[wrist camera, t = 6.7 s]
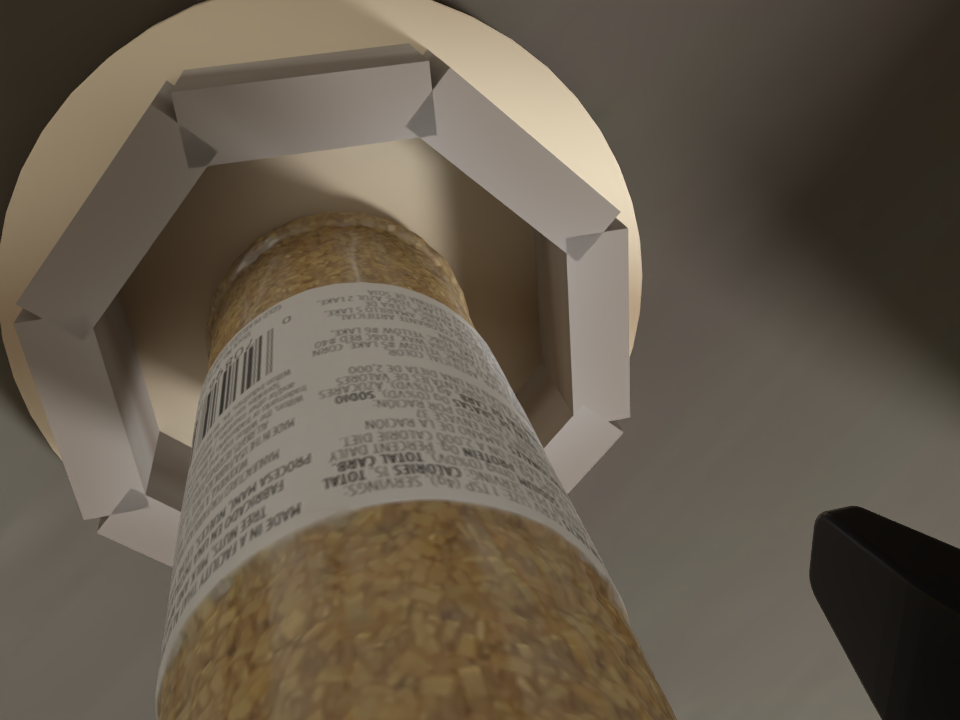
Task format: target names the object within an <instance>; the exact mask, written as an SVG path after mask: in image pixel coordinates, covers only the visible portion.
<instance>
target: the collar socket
mask: <svg viewBox="0 0 960 720" xmlns="http://www.w3.org/2000/svg"><path fill="white" fill-rule="evenodd" d="M352 211H357V212H361V213H364V214H368V215H372V216H376V217H380V218H384V219H387V220H391V221H394V222H396V223H397V224H399V225H401V226H403V227H404V228H406V229H408V230H410V231H412V232H413V233H415V234H417V235H418V236H420V237H422V238H423V239H424V240H425V241H426V243H427V244H428V245H429V246H430V247H432V248H433V249H434V250H436V251H437V252H438V253H439V254H441V255H442V256H443V257H444V258H445V259H446V261H447V262H448V264H449V266H450V267H451V269H452V271H453V274H454V276H455V278H456V280H457V282H458V284H459V286H460V288H461V289H462V291H463V293H464V297H465V300H466V303H467V307H468V311H469V316H470V319H471V321H472V323H473V325H474V327H475V329H476V331H477V332H478V334H479V335H480V336H481V337H482V338H483V340H484V341H485V342H486V343H487V345H488V347H489V348H490V350H491V352H492V353H493V355H494V357H495V358H496V360H497V362H498V364H499V366H500V368H501V369H502V371H503V373H504V375H505V377H506V379H507V381H508V382H509V384H510V386H511V388H512V390H513V392H514V394H515V396H516V398H517V400H518V401H519V403H520V405H521V406H522V408H523V410H524V412H525V414H526V416H527V418H528V420H529V421H530V423H531V425H532V427H533V429H534V431H535V433H536V435H537V437H538V439H539V441H540V443H541V445H542V447H543V449H544V451H545V453H546V454H547V456H548V458H549V460H550V462H551V464H552V466H553V468H554V470H555V472H556V474H557V476H558V478H559V480H560V482H561V484H562V486H563V488H564V490H565V491H566V493H567V494H568V493H569V492H570V491H571V490H572V489H573V488H574V486H575V485H576V484H577V483H578V482H579V481H580V480H581V479H582V478H583V477H584V476H585V474H586V473H587V472H588V471H589V470H590V469H591V468H592V467H593V466H594V465H595V463H596V462H597V461H598V460H599V459H600V458H601V457H602V456H603V455H604V454H605V452H606V451H607V450H608V449H609V448H610V447H611V446H612V445H613V444H614V443H615V442H616V440H617V439H618V438H619V437H620V436H621V435H622V434H623V433H624V432H623V431H622V429H621V428H620V426H619V425H618V423H617V422H616V421H615V420H619V419H624V418H629V417H630V361H629V357H630V354H631V351H632V348H633V344H634V339H635V334H636V329H637V324H638V319H639V314H640V303H641V287H642V265H641V250H640V238H639V233H638V228H637V224H636V219H635V214H634V209H633V204H632V201H631V198H630V195H629V192H628V190H627V187H626V184H625V181H624V178H623V176H622V173H621V170H620V167H619V165H618V163H617V161H616V159H615V157H614V155H613V153H612V152H611V150H610V148H609V146H608V144H607V142H606V140H605V138H604V136H603V134H602V133H601V131H600V129H599V128H598V127H597V125H596V124H595V122H594V121H593V120H592V118H591V117H590V115H589V114H588V113H587V111H586V110H585V109H584V107H583V106H582V104H581V103H580V102H579V100H578V99H577V98H576V96H575V95H574V94H573V93H572V92H571V91H570V90H569V89H568V88H567V87H566V86H565V85H564V84H563V83H562V82H561V81H560V80H559V79H558V78H557V77H556V76H555V75H554V74H553V73H552V72H551V71H550V69H549V68H548V67H546V66H545V65H544V64H543V63H541V62H540V61H539V60H538V59H536V58H535V57H534V56H532V55H531V54H530V53H529V52H527V51H526V50H525V49H523V48H522V47H521V46H520V45H518V44H517V43H516V42H514V41H513V40H512V39H510V38H508V37H506V36H505V35H503V34H501V33H499V32H498V31H496V30H494V29H493V28H491V27H489V26H487V25H486V24H484V23H482V22H480V21H479V20H477V19H475V18H473V17H471V16H469V15H467V14H465V13H463V12H460V11H458V10H455V9H453V8H450V7H448V6H446V5H443V4H441V3H438V2H436V1H433V0H207V1H204V2H201V3H198V4H195V5H193V6H191V7H189V8H187V9H185V10H183V11H181V12H179V13H177V14H175V15H173V16H171V17H169V18H167V19H165V20H163V21H161V22H159V23H157V24H155V25H153V26H152V27H150V28H149V29H147V30H146V31H145V32H143V33H142V34H140V35H139V36H138V37H136V38H135V39H133V40H132V41H130V42H129V43H128V44H126V45H125V46H123V47H122V48H120V49H119V50H118V51H116V52H115V53H114V54H113V55H111V56H110V57H109V58H108V59H107V60H105V61H104V62H103V63H102V64H101V65H100V66H99V67H98V68H97V69H96V70H95V71H94V72H93V73H92V74H91V75H90V76H89V77H88V78H87V79H86V80H85V81H83V82H82V83H81V84H80V85H79V86H78V87H77V88H76V89H75V90H74V91H73V92H72V93H71V94H70V96H69V97H68V98H67V99H66V101H65V102H64V103H63V105H62V106H61V107H60V109H59V110H58V111H57V112H56V114H55V115H54V116H53V118H52V119H51V120H50V122H49V123H48V124H47V126H46V127H45V128H44V129H43V131H42V133H41V135H40V136H39V138H38V140H37V142H36V144H35V146H34V148H33V149H32V151H31V153H30V155H29V157H28V159H27V160H26V162H25V164H24V166H23V168H22V170H21V172H20V175H19V178H18V180H17V183H16V186H15V189H14V192H13V195H12V197H11V200H10V203H9V206H8V209H7V211H6V216H5V221H4V227H3V232H2V238H1V243H0V324H1V331H2V339H3V343H4V346H5V349H6V353H7V356H8V360H9V363H10V367H11V370H12V374H13V377H14V380H15V382H16V384H17V386H18V389H19V391H20V393H21V395H22V397H23V400H24V402H25V404H26V406H27V408H28V411H29V413H30V415H31V417H32V418H33V420H34V421H35V423H36V424H37V426H38V428H39V429H40V431H41V432H42V434H43V435H44V437H45V438H46V440H47V442H48V443H49V445H50V446H51V448H52V449H53V450H54V452H55V453H56V454H57V455H58V456H59V457H60V459H61V460H62V461H63V464H64V466H65V469H66V472H67V475H68V478H69V480H70V483H71V486H72V489H73V491H74V494H75V497H76V500H77V503H78V505H79V508H80V511H81V514H82V516H83V519H84V520H87V519H93V518H98V517H101V519H100V523H99V526H98V530H97V533H98V534H100V535H102V536H104V537H107V538H109V539H111V540H113V541H115V542H118V543H120V544H122V545H124V546H126V547H129V548H131V549H133V550H135V551H138V552H140V553H142V554H144V555H146V556H149V557H151V558H153V559H155V560H157V561H160V562H162V563H164V564H166V565H168V566H171V567H173V562H174V554H175V548H176V541H177V535H178V528H179V522H180V515H181V510H182V504H183V498H184V492H185V487H186V481H187V474H188V468H189V461H190V455H191V448H192V441H193V433H194V425H195V419H196V413H197V408H198V402H199V398H200V394H201V390H202V387H203V384H204V382H205V379H206V377H207V373H208V364H209V361H208V355H207V348H206V326H207V321H208V317H209V313H210V306H211V302H212V299H213V296H214V294H215V291H216V288H217V286H218V285H219V283H220V282H221V281H222V280H223V279H224V277H225V276H226V275H227V273H228V270H229V268H230V267H231V265H232V263H233V262H234V261H235V260H236V259H237V258H238V257H239V256H240V255H242V254H243V253H244V252H245V251H246V249H247V248H248V246H249V245H250V244H252V243H253V242H254V241H255V240H256V239H258V238H259V237H261V236H263V235H264V234H266V233H267V232H269V231H271V230H272V229H275V228H277V227H280V226H282V225H285V224H286V223H288V222H290V221H292V220H295V219H298V218H303V217H309V216H312V215H316V214H321V213H326V212H352Z"/></svg>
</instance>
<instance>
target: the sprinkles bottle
mask: <svg viewBox="0 0 960 720" xmlns="http://www.w3.org/2000/svg"><path fill="white" fill-rule="evenodd" d="M206 348H207V355H208V361H209V364H208V373H207V377H206V379H205V382H204V384H203V387H202V390H201V394H200V398H199V402H198V408H197V413H196V419H195V425H194V433H193V441H192V448H191V455H190V461H189V468H188V474H187V481H186V487H185V492H184V498H183V504H182V510H181V515H180V522H179V528H178V535H177V541H176V548H175V554H174V562H173V570H172V578H171V587H170V595H169V602H168V609H167V616H166V622H165V629H164V636H163V643H162V650H161V657H160V665H159V672H158V679H157V687H156V695H155V705H156V718H157V720H677V719H676V717H675V715H674V713H673V711H672V709H671V707H670V705H669V702H668V700H667V699H666V697H665V695H664V693H663V691H662V689H661V687H660V686H659V684H658V683H657V681H656V680H655V676H654V674H653V672H652V670H651V668H650V667H649V665H648V663H647V661H646V658H645V656H644V654H643V652H642V649H641V647H640V645H639V642H638V640H637V638H636V637H635V635H634V633H633V631H632V630H631V628H630V626H629V620H628V615H627V612H626V609H625V606H624V603H623V600H622V598H621V597H620V595H619V593H618V591H617V589H616V587H615V585H614V583H613V581H612V579H611V577H610V575H609V573H608V571H607V569H606V567H605V565H604V563H603V561H602V559H601V557H600V556H599V554H598V552H597V550H596V548H595V546H594V544H593V542H592V540H591V539H590V537H589V535H588V533H587V531H586V529H585V527H584V525H583V523H582V522H581V520H580V518H579V516H578V514H577V512H576V510H575V508H574V507H573V505H572V503H571V501H570V499H569V497H568V495H567V493H566V491H565V490H564V488H563V486H562V484H561V482H560V480H559V478H558V476H557V474H556V472H555V470H554V468H553V466H552V464H551V462H550V460H549V458H548V456H547V454H546V453H545V451H544V449H543V447H542V445H541V443H540V441H539V439H538V437H537V435H536V433H535V431H534V429H533V427H532V425H531V423H530V421H529V420H528V418H527V416H526V414H525V412H524V410H523V408H522V406H521V405H520V403H519V401H518V400H517V398H516V396H515V394H514V392H513V390H512V388H511V386H510V384H509V382H508V381H507V379H506V377H505V375H504V373H503V371H502V369H501V368H500V366H499V364H498V362H497V360H496V358H495V357H494V355H493V353H492V352H491V350H490V348H489V347H488V345H487V343H486V342H485V341H484V340H483V338H482V337H481V336H480V335H479V334H478V332H477V331H476V329H475V327H474V325H473V323H472V321H471V319H470V316H469V311H468V307H467V303H466V300H465V297H464V293H463V291H462V289H461V288H460V286H459V284H458V282H457V280H456V278H455V276H454V274H453V271H452V269H451V267H450V266H449V264H448V262H447V261H446V259H445V258H444V257H443V256H442V255H441V254H439V253H438V252H437V251H436V250H434V249H433V248H432V247H430V246H429V245H428V244H427V243H426V241H425V240H424V239H423V238H422V237H420V236H418V235H417V234H415V233H413V232H412V231H410V230H408V229H406V228H404V227H403V226H401V225H399V224H397V223H396V222H394V221H391V220H387V219H384V218H380V217H376V216H372V215H368V214H364V213H361V212H357V211H352V212H326V213H321V214H316V215H312V216H309V217H303V218H298V219H295V220H292V221H290V222H288V223H286V224H285V225H282V226H280V227H277V228H275V229H272V230H271V231H269V232H267V233H266V234H264V235H263V236H261V237H259V238H258V239H256V240H255V241H254V242H253V243H252V244H250V245H249V246H248V248H247V249H246V251H245V252H244V253H243V254H242V255H240V256H239V257H238V258H237V259H236V260H235V261H234V262H233V263H232V265H231V267H230V268H229V270H228V273H227V275H226V276H225V277H224V279H223V280H222V281H221V282H220V283H219V285H218V286H217V288H216V291H215V294H214V296H213V299H212V302H211V306H210V313H209V317H208V321H207V326H206Z"/></svg>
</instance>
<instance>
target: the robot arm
mask: <svg viewBox="0 0 960 720" xmlns="http://www.w3.org/2000/svg"><path fill="white" fill-rule="evenodd" d="M809 576H810V583H811V587H812V590H813V593H814V595H815V597H816V599H817V601H818V603H819V605H820V607H821V609H822V610H823V612H824V614H825V616H826V618H827V620H828V622H829V623H830V625H831V627H832V629H833V631H834V633H835V635H836V636H837V638H838V640H839V642H840V644H841V646H842V648H843V649H844V651H845V653H846V655H847V657H848V659H849V661H850V662H851V664H852V666H853V668H854V670H855V672H856V674H857V675H858V677H859V679H860V681H861V683H862V685H863V687H864V688H865V690H866V692H867V694H868V696H869V698H870V700H871V701H872V703H873V705H874V707H875V708H876V710H877V712H878V714H879V715H880V717H881V719H882V720H960V549H959V548H956V547H954V546H952V545H949V544H947V543H945V542H942V541H940V540H937V539H935V538H933V537H930V536H928V535H926V534H923V533H921V532H918V531H916V530H914V529H911V528H909V527H907V526H904V525H902V524H899V523H897V522H895V521H892V520H890V519H888V518H885V517H883V516H880V515H878V514H876V513H873V512H871V511H869V510H866V509H864V508H861V507H858V506H848V507H843V508H839V509H834V510H829V511H825V512H823V513H821V514H819V515H818V517H817V519H816V520H815V525H814V532H813V542H812V551H811V560H810V570H809Z"/></svg>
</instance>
